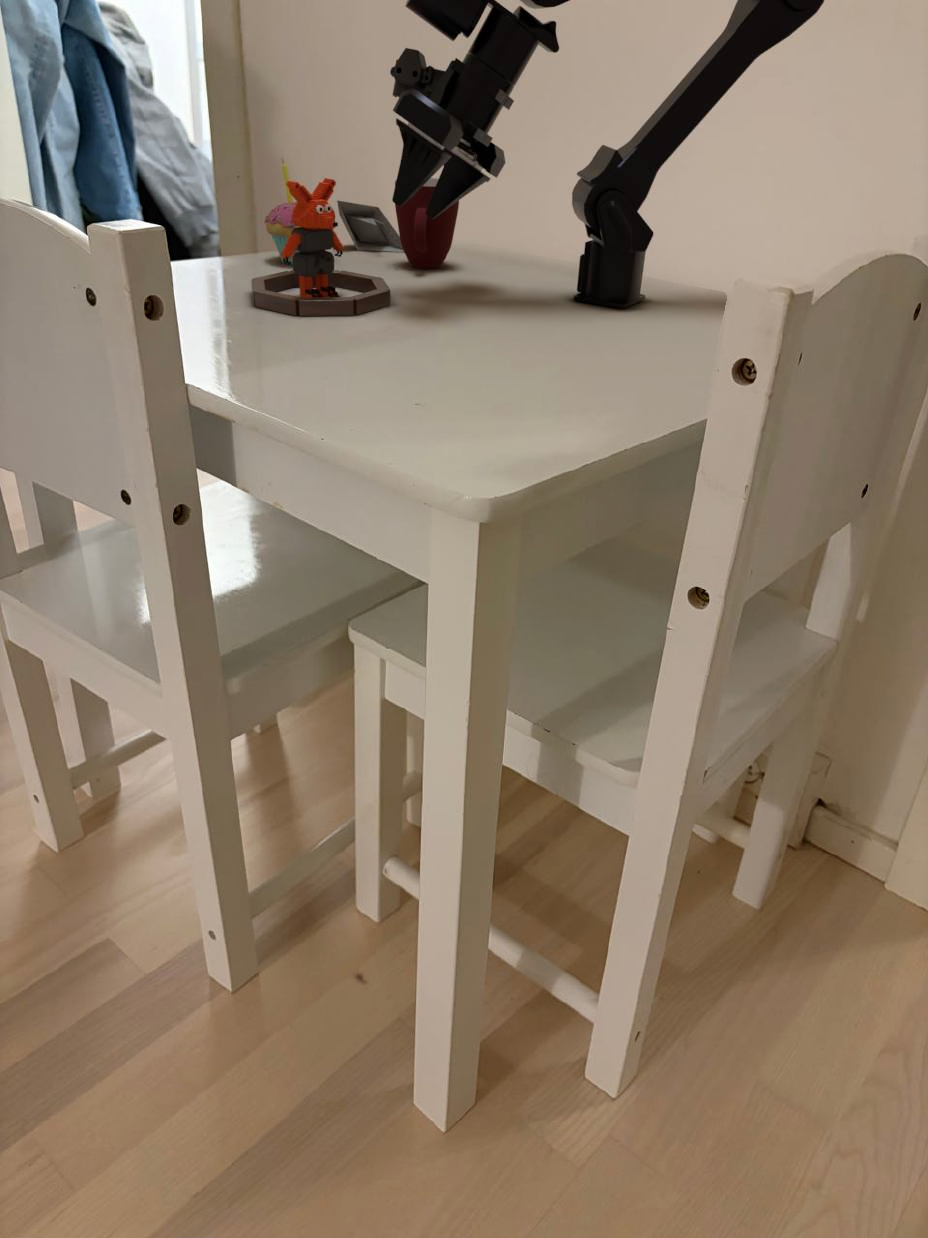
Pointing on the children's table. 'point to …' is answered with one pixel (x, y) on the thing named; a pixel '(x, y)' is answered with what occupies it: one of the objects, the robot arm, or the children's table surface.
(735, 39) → the robot arm
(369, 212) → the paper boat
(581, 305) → the children's table surface
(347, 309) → the hoop
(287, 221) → the cupcake
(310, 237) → the toy animal
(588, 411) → the children's table surface
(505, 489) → the children's table surface
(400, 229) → the mug
